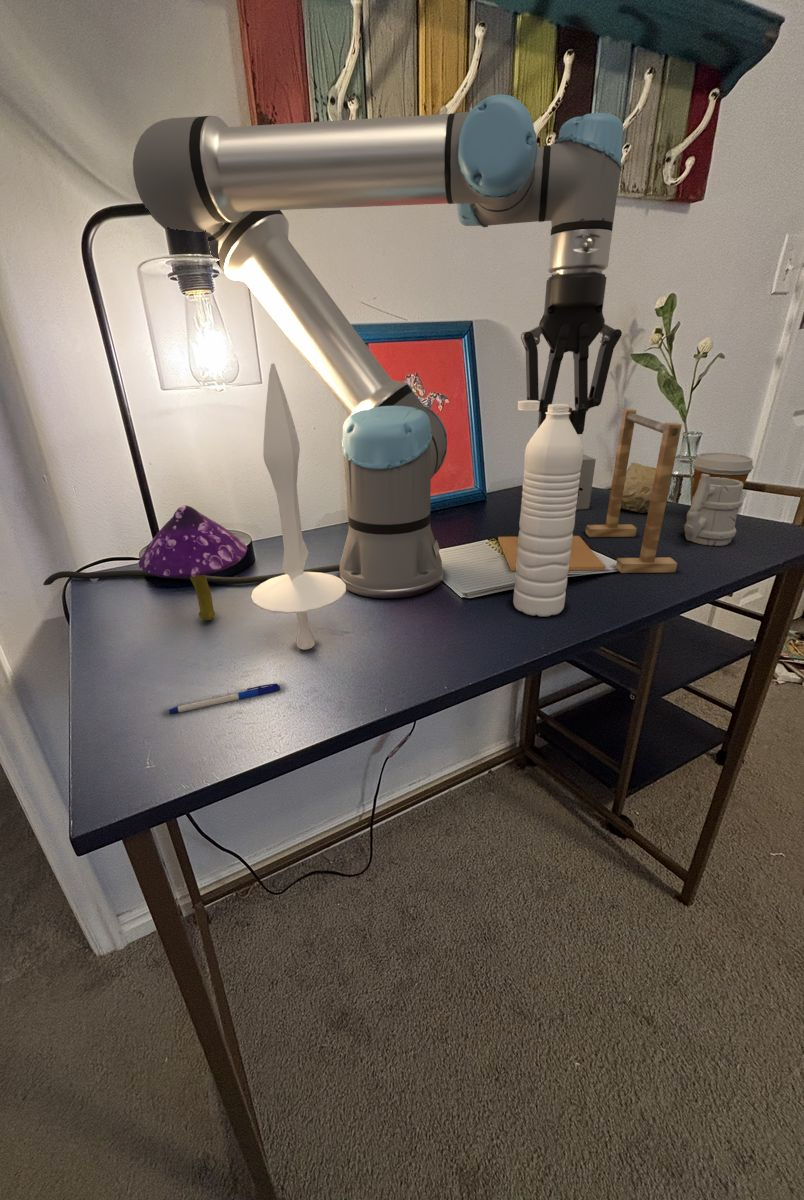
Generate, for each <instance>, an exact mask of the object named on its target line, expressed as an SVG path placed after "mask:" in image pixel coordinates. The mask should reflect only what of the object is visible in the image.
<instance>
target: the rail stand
mask: <svg viewBox="0 0 804 1200" xmlns="http://www.w3.org/2000/svg"><path fill="white" fill-rule="evenodd" d="M635 424H637V425H640V426H641V427H645V428H648V429H650V430H654V431H655V432H658V433H661V434H662V436H661V441H660V446H659V452H658V457H657V463H656V467H655V468H656V473H655V478H654V483H653V489H652V494H651V499H650V505H649V510H648V512H647V517H646V521H645V527H644V531H643V532H644V533H643V537H642V541H641V548H640V553H639V557H616V560H615V561H616V562H615V568H616V569H617V571H618V572H619V573H621V574H641V573H642V574H651V573H655V574H657V573H658V574H660V573H664V574H665V573H666V574H667V573H676V572H677V566H678V562H677V561H675V560H674V559H673V558H672V557H670V556H668V557H656V556H657V551H658V545H659V540H660V536H661V532H662V526H663V522H664V521H663V520H664V516H665V511H666V507H667V502H668V496H669V491H670V485H671V481H672V476H673V471H674V466H675V461H676V456H677V451H678V446H679V441H680V437H681V432H682V426H683V424H682V423H679V422H660V421H658V420H655V419H652V418H648V417H645V416H643V415H639V414H637V409H634V408H623V409H622V415H621V421H620V428H619V433H618V434H619V435H618V440H617V441H618V442H617V447H616V453H615V460H614V467H613V474H612V481H611V485H610V492H609V501H608V505H607V507H608V508H607V514H606V520H605V524H586V526H585V534H586V535H587V536H588V537H589V538H629V537H630V538H632V537H633V538H634V537H636V535H637V529H638V528H637V527H636V526H635V525H634V524H631V523H630V524H628V523H625V524H619V520H620V516H621V515H620V514H621V509H622V508H621V502H622V496H623V490H624V484H625V478H626V472H627V470H628V467H629V466H628V464H629V458H630V454H631V453H630V452H631V448H632V447H631V446H632V440H633V435H634V428H635Z"/></svg>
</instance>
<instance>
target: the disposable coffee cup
mask: <svg viewBox="0 0 804 1200" xmlns="http://www.w3.org/2000/svg"><path fill="white" fill-rule="evenodd" d="M753 460H754V459H753V457H750V456H747V455H743V454H737V453H728V452H704V453H698V454H697V455H696V457H695V459H694V461H692V468H693V475H692V476H693V477H692V487H691V488H692V489H691V500H690V501H691V502H692V498H693V496H694V495H695V493H696V490H697V488H698V484H699V481H700V479H701V475H702V474H708V475H710V477H720V478H728V479H733V480H738V481H741V482H742V483H743V488H744V487H745V484H746V482H747V479H748V478H749V475H750V473H752V470H754V468H755V466H754V465H753V464H754V463H753ZM691 505H692V503H690V506H691Z"/></svg>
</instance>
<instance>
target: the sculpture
mask: <svg viewBox="0 0 804 1200" xmlns="http://www.w3.org/2000/svg"><path fill="white" fill-rule="evenodd" d="M265 404H266V405H265V413H264V414H265V415H264V428H263V429H264V431H263V445H262V447H263V450H262V451H263V453H262V455H263V461H264V465H265V467H266V469H267V471H268V474H269V475H270V479H271V483H272V485H273V488H274V491H275V495H276V498H277V503H278V513H279V519H280V525H281V526H280V527H281V534H282V544H283V556H282V567H281V573H285V575H281V576H278V577H274V578H271V579H269V580H267V581H265V582H260V583H259V584H258V585H257V586H256V587H254V589H252V592H251V594H250V598H251V601H252V603H253V604H254V605H255V606H256V607H258V608H259V609H261V610H265V611H268V612H270V613H280V614H296V617H297V621H298V629H297V635H296V639H295V640H296V647H297V648H299V649H300V650H305V651H307V650H310V649H312V648H313V647H314V646H315V645H316V642H315V638H314V635H313V633H312V631H311V629H310V626H309V625H310V624H309V621H308V620H309V619H308V612H312V611H317V610H320V609H323V608H327V607H328V606H331V605H333V604H335V603H336V602H338V601H339V600H341V599H342V598H343V596H344V595H345V594H346V592H347V589H346V584H345V583H344V582H343V581H342V580H341V579H340V577H338V576H336V575H334V574H330V573H318V572H304V570H305V569H304V568H305V564H306V561H307V559H308V557H309V554H310V553H309V551H308V548H307V545H306V543H305V541H304V538H303V531H302V521H301V514H300V505H299V495H298V477H299V476H298V474H299V462H300V461H299V460H300V452H301V449H300V441H299V438H298V433H297V429H296V426H295V422H294V418H293V415H292V412H291V408H290V405H289V402H288V399H287V396H286V393H285V390H284V387H283V384H282V381H281V378H280V376H279V373H278V370H277V367H276V364H275V363H270V369H269V373H268V383H267V393H266V403H265Z"/></svg>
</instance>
